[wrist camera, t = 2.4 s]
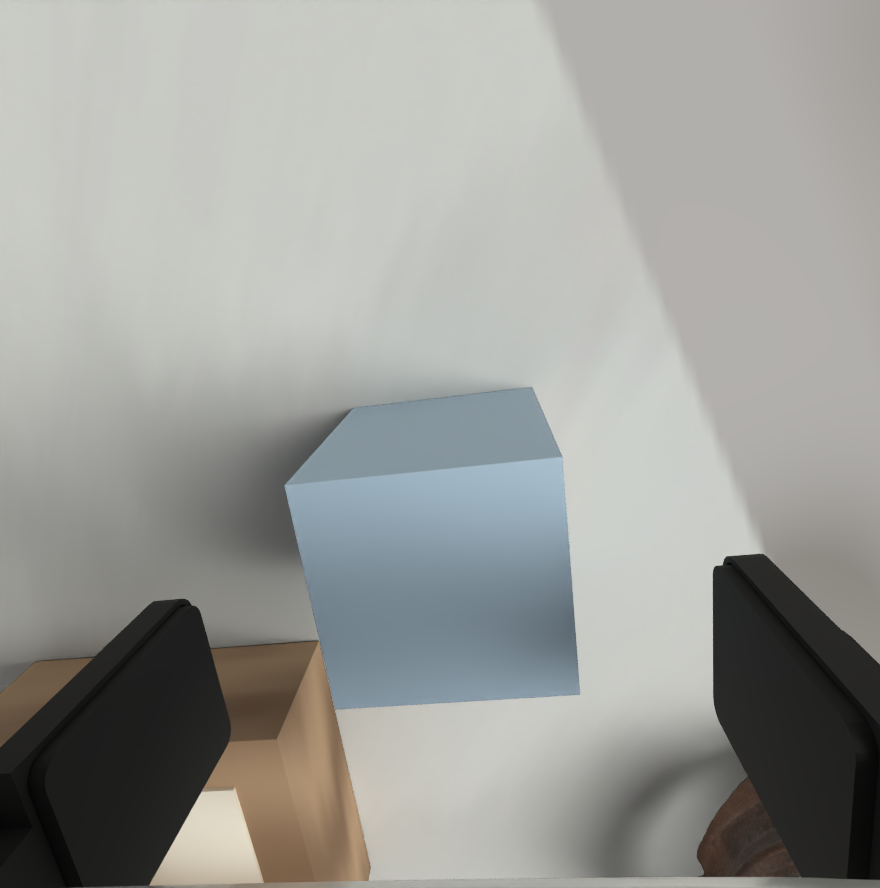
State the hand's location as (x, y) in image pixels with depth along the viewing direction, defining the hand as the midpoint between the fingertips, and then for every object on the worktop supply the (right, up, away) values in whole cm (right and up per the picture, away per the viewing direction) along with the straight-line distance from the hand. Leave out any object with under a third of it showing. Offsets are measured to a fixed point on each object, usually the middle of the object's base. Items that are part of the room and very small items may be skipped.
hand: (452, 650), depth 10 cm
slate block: (0, +3, +6) cm, 7 cm away
